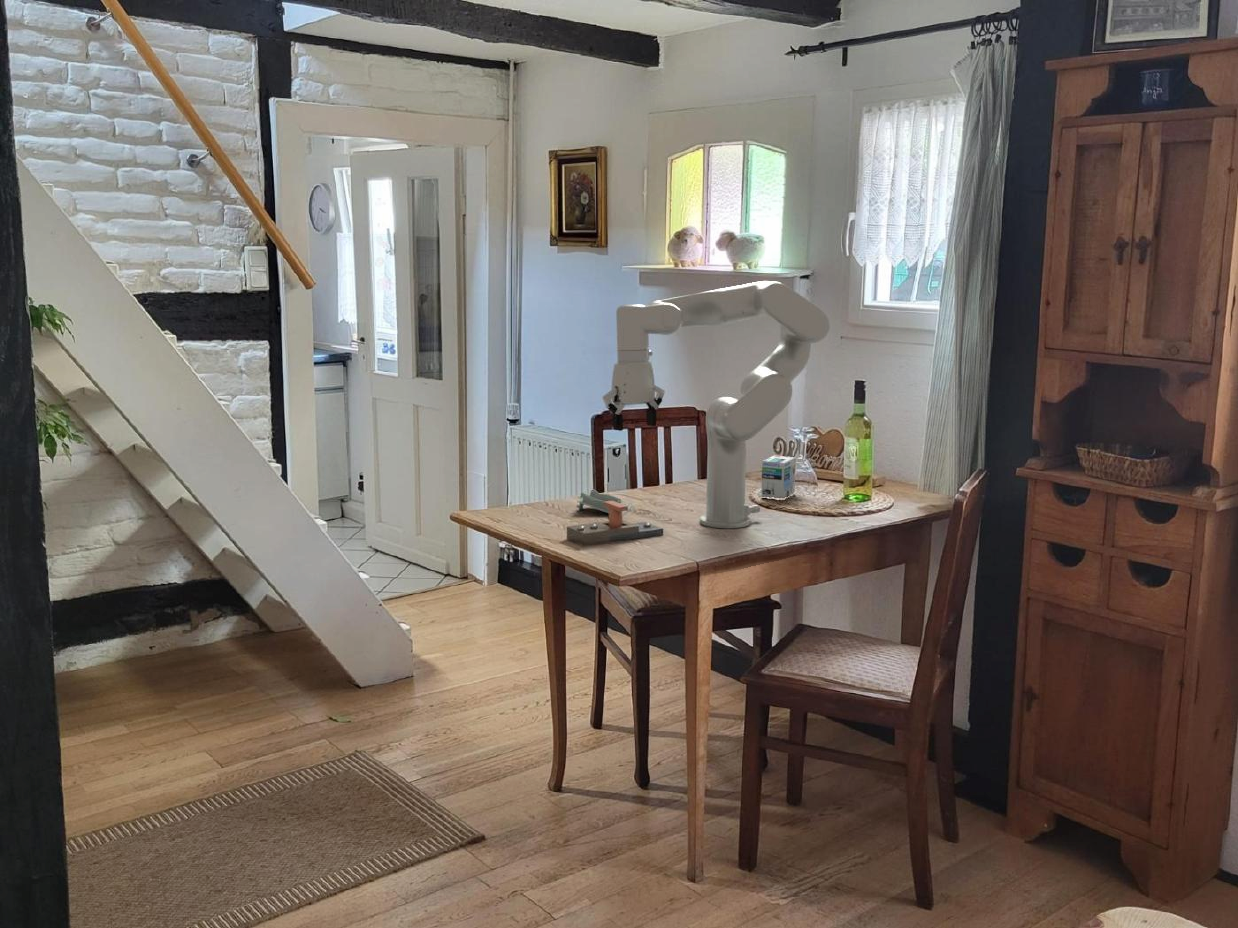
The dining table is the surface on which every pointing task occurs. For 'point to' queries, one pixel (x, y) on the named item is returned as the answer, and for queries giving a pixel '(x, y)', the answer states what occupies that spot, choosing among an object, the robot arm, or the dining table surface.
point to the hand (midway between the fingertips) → (635, 427)
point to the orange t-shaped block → (615, 513)
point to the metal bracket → (599, 501)
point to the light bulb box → (778, 476)
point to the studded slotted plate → (610, 532)
